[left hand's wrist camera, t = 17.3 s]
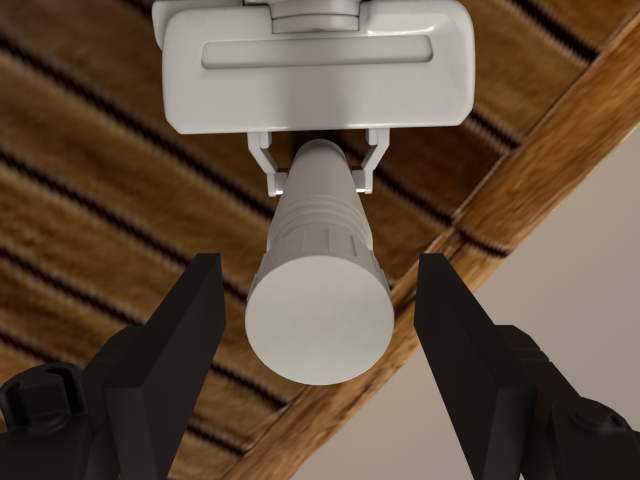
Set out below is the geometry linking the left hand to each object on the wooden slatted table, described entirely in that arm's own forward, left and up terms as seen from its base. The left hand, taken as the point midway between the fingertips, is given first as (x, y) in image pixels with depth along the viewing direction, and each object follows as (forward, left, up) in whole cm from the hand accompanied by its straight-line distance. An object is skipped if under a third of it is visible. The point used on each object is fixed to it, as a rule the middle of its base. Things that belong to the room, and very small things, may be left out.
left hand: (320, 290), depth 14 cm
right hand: (0, -1, -17) cm, 17 cm away
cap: (0, 0, +2) cm, 2 cm away
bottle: (0, 0, -23) cm, 23 cm away
